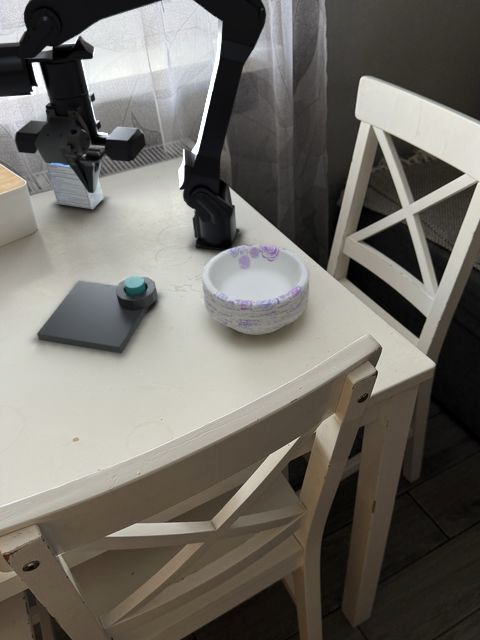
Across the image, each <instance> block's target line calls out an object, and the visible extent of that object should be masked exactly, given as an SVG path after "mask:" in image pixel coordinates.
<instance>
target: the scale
mask: <svg viewBox="0 0 480 640" xmlns="http://www.w3.org/2000/svg"><path fill="white" fill-rule="evenodd" d="M139 276H140V277H142V278H143V279H144V281H145V286H146V290H145V292H144V293H142V294H140V295H135V296H132V295H128V294H127V293H126V289H125V285H124V282H125V280H126V279H124V280H122V281H120V282H119V283H118V285H112V284H107V283H98V282H91V281H85V280H78V281H77V282H76V283H75V284H74V286H73V287H72V288H71V290H70V291H69V292H68V294H66V296H65V297H64V299H63V300H62V301H61V302H60V304H59V305H58V306H57V308H56V309H55V310H54V311H53V312H52V314H51V315H50V317H49V318H48V319H47V320H46V322H45V323H44V324H43V325H42V327H40V329H39V330H38V331H37V333H36V335H37V337H38V340H41V341H46V342H52V343H58V344H64V345H71V346H76V347H81V348H88V349H92V350H93V349H94V350H100V351H105V352H111V353H116V354H122V353H123V351H124V350H125V348H126V347H127V344H128V343H129V342H130V340H131V338H132V337H133V335H134V333H135V332H136V330H137V329H138V327H139V325H140V324H141V322H142V321H143V319H144V318H145V315H146V314H147V312H148V311H149V309H150V308H151V306H152V305H153V304H154V303H155V301H156V300H157V298H158V291H157V286H156V282H155V281H154V280H152V279H151V278H150V277H148V276H141V275H139Z"/></svg>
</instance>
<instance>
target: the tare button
mask: <svg viewBox="0 0 480 640" xmlns="http://www.w3.org/2000/svg"><path fill="white" fill-rule="evenodd" d="M140 276H141V275H133V276H129V277H128V278H126V279H124V280H125V282H124V285H125V289H126V293H127V294H128V295H132V296H135V295H140V294H142V293H144V292H145V290H146V286H145V281H144V279H143V278H142V277H143V276H141V277H140Z"/></svg>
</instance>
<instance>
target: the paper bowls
mask: <svg viewBox="0 0 480 640" xmlns="http://www.w3.org/2000/svg"><path fill="white" fill-rule="evenodd" d="M309 270H310V269H309V267H308V265H307V264H306V262H305V261H304V260H303V259H302V258H301V256H299V255H298V254H296V253H295V252H293V251H291V250H289V249H287V248H284V247H281V246H277V245H272V244H262V243H257V244H255V243H253V244H252V243H251V244H244V245H243V244H242V245H237V246H234V247H232V248H231V249H228V250H225V251H223V250H222V251H221V252H218V253H217V254H216V255H214V256H213V257H212V258H210V259H209V261H208V262H207V263H206V265H205V266H204V268H203V270H202V274H201V283H202V292H203V300H204V305H205V309H206V311H207V313H208V314H209V315H210V316H211V317H212V318H213V319H214V320H215V321H217V322H218V323H220V324H222V325H224V326H226V327H228V328H231V329H233V330H235V331H237V332H238V333H242V334H245V335H246V334H247V335H258V336H259V335H265V334H270V333H273V332H277V331H279V330H281V328H283V327H285V326H286V325H289V324H291V323H293V322H295V321H296V320H298V319H299V318H300V316H301V315H303V313H304V312H305V310H306V309H307V306H308V303H309V295H310V293H309V292H310V271H309Z"/></svg>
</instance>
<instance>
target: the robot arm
mask: <svg viewBox="0 0 480 640" xmlns="http://www.w3.org/2000/svg"><path fill="white" fill-rule="evenodd" d="M162 1H163V0H28V2H27V3H26V5H25V8H24V11H23V22H24V26H25V28H26V30H25V31H24V32H23V34H22V35H21V37H20V39H19V41H16V42H15V41H14V42H2V43H1V42H0V99H1V98H2V99H3V98H14V97H15V98H16V97H29V96H31V97H32V96H34V95H36V88H41V86H42V79H43V83H44V86H45V90H46V95H47V98H48V101H49V102H48V103H47V104H45V107H44V108H45V114H46V121H45V120H34V119H33V120H29V121H28V122H27V123H25V125H23V126H22V127H21V128H19V130H18V131H16V132H15V133H14V139H13V141H14V144H15V147H16V150H17V152H18V153H19V154H20V153H22V154H34V155H35V154H36V153H37V152H38V153H39V155H40V156H41V158H42V160H43V162H44V163H45V164H46V163H48V164H51V163H58V164H63V165H69V166H70V167H71V168H72V170H73V171H74V172H75V174H76V175H77V176H78V178H79V179H80V181H81V182H82V184H83V185H84V187H85V188H86V190H87V191H88V192H89V193H94V192H95V191H96V188H97V182H98V178H99V177H100V173H101V172H100V171H101V168H102V163H103V160H104V157H105V156H107V157H108V158H109V159H110V160H111V161H117V162H127V163H129V162H132V161H134V160H135V159H136V158H137V156H138V155H139V154H140V153H141V152H142V151H143V150H144V148H145V147H146V146H147V144H146V137H145V134H144V133H143V131H142V130H141V129H140V128H139V127H128V126H127V127H126V126H117V127H116V128H114V130H113V131H112V132H111V133H110V134H108V133H107V132H99V130H100V129H101V128H102V124H101V120H98V119H97V120H96V116H95V112H94V108H93V103H94V102H95V101H96V96H95V93H94V92H90V89H89V85H88V80H87V75H86V71H85V67H84V62H83V61H84V60H92V59H94V55H95V51H96V48H95V46H94V45H92V44H91V43H90V42H88V41H86V40H85V39H84V37H82V36H81V35H80V34H82V33H83V32H84V31H86V30H87V29H88V28H90V27H91V26H93V25H94V24H97V23H98V22H100V21H102V20H105V19H108V18H111V17H114V16H118V15H121V14H123V13H127V12H131V11H134V10H136V9H140V8H142V7H143V8H144V7H146V6H149V5H152V4H155V3H158V2H162ZM193 2H195V3H196V4H197V5H198V6H200V7H201V8H202V9H204V10H205V11H207V13H209V14H210V15H212V16H213V17H214V18H216V19H217V51H216V55H215V61H214V66H213V70H212V74H211V79H210V83H209V88H208V92H207V96H206V101H205V105H204V110H203V114H202V119H201V123H200V128H199V132H198V135H197V136H198V137H197V141H196V143H195V145H194V147H193V148H192V150H191V151H190V150H188V149H185V148H183V150H182V161H181V165H180V167H179V168H178V185H179V186H178V187H179V190H180V191H182V198H183V202H184V203H185V204H186V206H187V207H189V208H191V209H193V214H194V215H193V216H192V219H191V220H192V226H193V228H192V229H193V233H194V238H195V239H196V240H195V241H194V244H193V245H194V247H195V248H199V249H208V250H215V251H222V252H223V251H225V250H228V249H231V248H233V246H234V244H235V243H236V241H237V239H238V237H239V235H240V233H241V229H239V228H237V218H236V205H235V204H233V200H232V195H231V189H230V185H229V182H227V181H225V180H224V179H223V178H221V159H222V158H221V157H222V153H223V148H224V144H225V141H226V137H227V132H228V129H229V125H230V121H231V117H232V114H233V110H234V105H235V101H236V97H237V94H238V89H239V86H240V82H241V79H242V74H243V70H244V67H245V64H246V62H247V61H248V59H249V58H250V56H251V54H252V53H253V51H254V49H255V48H256V46H257V44H258V42H259V39H260V36H261V34H262V33H263V30H264V27H265V26H266V25H265V24H266V22H267V21H266V20H267V10H266V7H265V5H264V3H263V1H262V0H193ZM75 37H76V39H75V40H74V41H73V42H69V43H68V41H69V40H71V39H74V38H75ZM47 47H51V49H48V50H44V49H46V48H47ZM38 63H39V64H38ZM41 75H42V77H41Z"/></svg>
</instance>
